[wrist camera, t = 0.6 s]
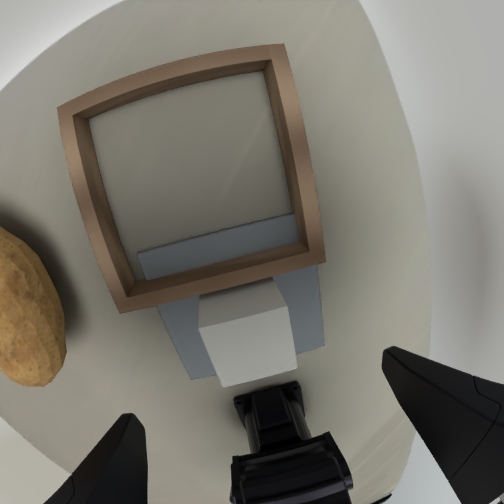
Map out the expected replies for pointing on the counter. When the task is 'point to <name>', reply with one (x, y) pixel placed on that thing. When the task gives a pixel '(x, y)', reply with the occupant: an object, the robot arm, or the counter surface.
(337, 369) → the counter surface
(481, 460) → the robot arm
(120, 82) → the bin
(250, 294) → the white cube
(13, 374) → the potato
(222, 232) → the mat
